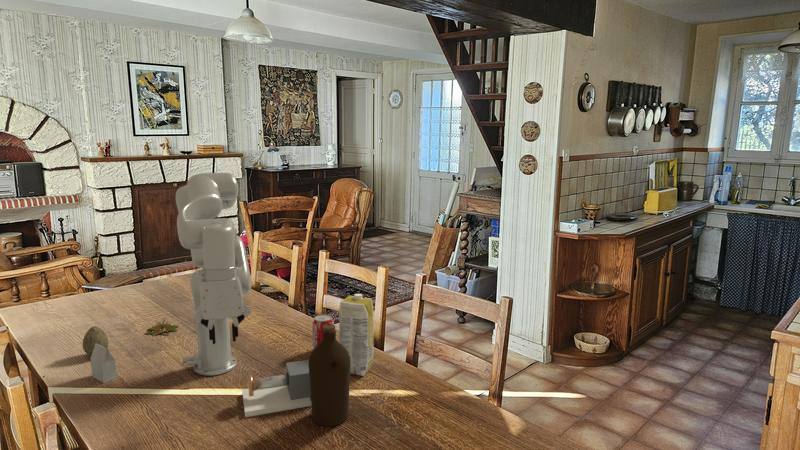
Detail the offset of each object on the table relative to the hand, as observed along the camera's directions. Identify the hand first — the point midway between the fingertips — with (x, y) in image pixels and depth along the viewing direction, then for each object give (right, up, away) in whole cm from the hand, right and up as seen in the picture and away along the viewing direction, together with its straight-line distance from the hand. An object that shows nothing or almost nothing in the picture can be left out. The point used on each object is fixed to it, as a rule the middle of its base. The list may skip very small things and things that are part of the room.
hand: (224, 340), depth 134 cm
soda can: (+20, -12, +38) cm, 45 cm away
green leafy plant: (-41, -9, +54) cm, 68 cm away
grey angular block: (-42, -16, +19) cm, 49 cm away
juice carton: (+32, -15, +26) cm, 44 cm away
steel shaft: (+12, -16, +8) cm, 21 cm away
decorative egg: (-52, -13, +33) cm, 63 cm away
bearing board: (+16, -18, +10) cm, 26 cm away
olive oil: (+28, -20, +1) cm, 34 cm away
